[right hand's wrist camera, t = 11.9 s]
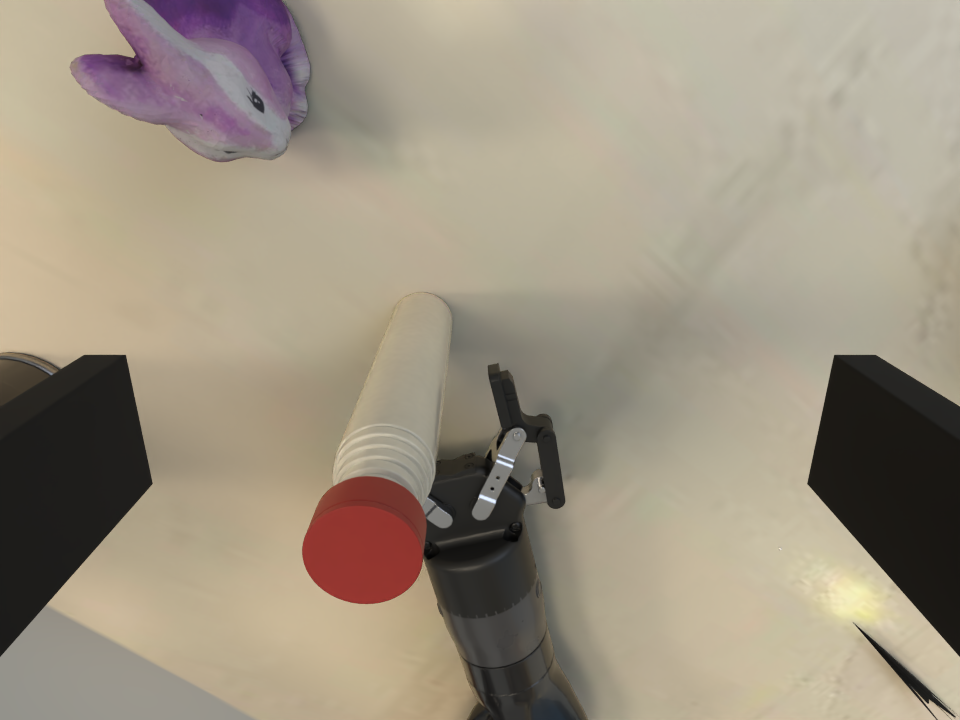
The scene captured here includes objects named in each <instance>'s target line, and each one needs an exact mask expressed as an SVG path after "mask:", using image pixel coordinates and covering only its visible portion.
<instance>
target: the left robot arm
mask: <svg viewBox="0 0 960 720" xmlns="http://www.w3.org/2000/svg"><path fill="white" fill-rule="evenodd" d="M57 371H59V370H58V369H57V368H55V367H54V366H52V365H50V364H49V363H47V362H45V361H42V360H40V359H38V358H35V357H32V356H28V355H24V354H19V353H0V406H2V405H4V404H5V403H7V402H9V401H10V400H12V399H13V398H15V397H17V396H18V395H20V394H22V393H23V392H25V391H26V390H28V389H30V388H31V387H33V386H35V385H36V384H38V383H39V382H41V381H43V380H44V379H46V378H48V377H49V376H51V375H53V374H54V373H56V372H57ZM488 375H489V380H490V384H491V388H492V392H493V396H494V400H495V404H496V408H497V412H498V416H499V420H500V423H501V428H500V430H499V432H498V434H497V436H496V437H494V439H493V440H492V442H491V444H490V446H489V448H488V450H487V452H486V454H485V456H484V457H482V456H476V455H475V453H470V454H466V455H463V456H461V457H458V458H456V459H454V460H438V461H437V464H436V472H435V478H434V481H433V484H432V488H431V491H430V493H429V495H428V497H427V499H426V501H425V503H424V505H423V506H422V508H423V511H424V513H425V517H426V523H427V528H426V538H425V546H424V554H423V558H424V561H425V564H426V567H427V570H428V573H429V576H430V579H431V582H432V585H433V588H434V591H435V594H436V597H437V605H438V609H439V612H440V614H441V615H442V617H443V619H444V622H445V624H446V627H447V629H448V631H449V633H450V635H451V637H452V639H453V641H454V643H455V645H456V647H457V650H458V653H459V656H460V659H461V662H462V665H463V668H464V671H465V674H466V677H467V680H468V682H469V685H470V687H471V689H472V691H473V693H474V695H475V696H476V698H477V700H478V702H477V703H476V705H475V706H474V708H473V710H472V712H471V713H470V715H469V717H468V719H467V720H588V718H587V716H586V714H585V712H584V710H583V708H582V706H581V704H580V702H579V700H578V698H577V696H576V694H575V692H574V690H573V688H572V686H571V685H570V683H569V681H568V679H567V678H566V676H565V674H564V673H563V671H562V670H561V668H560V666H559V664H558V662H557V660H556V658H555V653H554V649H553V645H552V641H551V637H550V633H549V630H548V626H547V622H546V617H545V606H544V598H543V593H542V587H541V582H540V580H539V576H538V573H537V569H536V565H535V561H534V557H533V553H532V549H531V545H530V541H529V537H528V533H527V529H526V525H525V521H524V517H523V512H524V509H525V506H526V505H532V504H539V503H545V502H547V503H548V505H549V506H550V507H551V508H554V509H558V508H561V507H562V506H563V505H564V504H565V496H564V489H563V482H562V476H561V469H560V462H559V456H558V449H557V442H556V436H555V433H554V431H553V426H552V421H551V418H550V417H549V416H548V415H546V414H539V415H537V416H528V415H525V414H524V413H523V412H522V411H521V409H520V406H519V401H518V397H517V393H516V389H515V385H514V381H513V376H512V375H511V374H510V372H509V371H508V370H505V371H501V372H500V368H499V364H498V363H497V364H493V365H488ZM524 442H534V443H537V446H538V452H539V458H540V465H541V469H537V470H536V471H535V472H533V474H532V475H531V482H530V483H529V485H527V486H525V487H523V486H522V485H521V484H520V483H519V482H518V481H517V480H515V479H514V478H513V477H511V476H510V473H511V471H512V469H513V466H514V462H515V459H516V457H517V455H518V453H519V451H520V449H521V447H522V446H523V444H524Z"/></svg>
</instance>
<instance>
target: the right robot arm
mask: <svg viewBox="0 0 960 720" xmlns="http://www.w3.org/2000/svg"><path fill="white" fill-rule="evenodd" d="M152 484H153V483H152V478H151V474H150V469H149V464H148V459H147V455H146V450H145V445H144V440H143V435H142V431H141V426H140V421H139V416H138V411H137V407H136V402H135V397H134V392H133V388H132V383H131V378H130V373H129V368H128V364H127V359H126V355H84V356H82V357H80V358H79V359H77V360H75V361H74V362H72V363H70V364H69V365H67V366H66V367H64V368H62V369H61V370H59V371H57V372H56V373H54V374H53V375H51V376H49V377H48V378H46V379H44V380H43V381H41V382H39V383H38V384H36V385H35V386H33V387H31V388H30V389H28V390H26V391H25V392H23V393H22V394H20V395H18V396H17V397H15V398H13V399H12V400H10V401H9V402H7V403H5V404H4V405H2V406H0V656H1V655H2V654H3V653H4V652H5V651H6V650H7V648H8V647H9V646H10V645H11V644H12V643H13V642H14V641H15V639H16V638H17V637H18V636H19V635H20V634H21V633H22V631H23V630H24V629H25V628H26V627H27V626H28V625H29V624H30V622H31V621H32V620H33V619H34V618H35V617H36V616H37V614H38V613H39V612H40V611H41V610H42V609H43V608H44V606H45V605H46V604H47V603H48V602H49V601H50V600H51V599H52V597H53V596H54V595H55V594H56V593H57V592H58V591H59V589H60V588H61V587H62V586H63V585H64V584H65V583H66V582H67V580H68V579H69V578H70V577H71V576H72V575H73V574H74V572H75V571H76V570H77V569H78V568H79V567H80V566H81V565H82V563H83V562H84V561H85V560H86V559H87V558H88V557H89V555H90V554H91V553H92V552H93V551H94V550H95V549H96V547H97V546H98V545H99V544H100V543H101V542H102V541H103V540H104V538H105V537H106V536H107V535H108V534H109V533H110V532H111V530H112V529H113V528H114V527H115V526H116V525H117V524H118V523H119V521H120V520H121V519H122V518H123V517H124V516H125V515H126V513H127V512H128V511H129V510H130V509H131V508H132V507H133V506H134V504H135V503H136V502H137V501H138V500H139V499H140V498H141V496H142V495H143V494H144V493H145V492H146V491H147V490H148V488H149V487H150V486H151V485H152ZM807 484H808V485H809V486H810V487H811V488H812V490H813V491H814V492H815V493H816V494H817V495H818V496H819V498H820V499H821V500H822V501H823V502H824V503H825V504H826V506H827V507H828V508H829V509H830V510H831V511H832V512H833V513H834V515H835V516H836V517H837V518H838V519H839V520H840V521H841V523H842V524H843V525H844V526H845V527H846V528H847V529H848V530H849V532H850V533H851V534H852V535H853V536H854V537H855V538H856V540H857V541H858V542H859V543H860V544H861V545H862V546H863V547H864V549H865V550H866V551H867V552H868V553H869V554H870V555H871V557H872V558H873V559H874V560H875V561H876V562H877V563H878V565H879V566H880V567H881V568H882V569H883V570H884V571H885V572H886V574H887V575H888V576H889V577H890V578H891V579H892V580H893V582H894V583H895V584H896V585H897V586H898V587H899V588H900V589H901V591H902V592H903V593H904V594H905V595H906V596H907V597H908V599H909V600H910V601H911V602H912V603H913V604H914V605H915V606H916V608H917V609H918V610H919V611H920V612H921V613H922V614H923V616H924V617H925V618H926V619H927V620H928V621H929V622H930V624H931V625H932V626H933V627H934V628H935V629H936V630H937V631H938V633H939V634H940V635H941V636H942V637H943V638H944V639H945V641H946V642H947V643H948V644H949V645H950V646H951V647H952V648H953V650H954V651H955V652H956V653H957V654H958V655H959V656H960V406H958V405H956V404H955V403H953V402H951V401H950V400H948V399H947V398H945V397H943V396H942V395H940V394H938V393H937V392H935V391H934V390H932V389H930V388H929V387H927V386H925V385H924V384H922V383H921V382H919V381H917V380H916V379H914V378H912V377H911V376H909V375H907V374H906V373H904V372H903V371H901V370H899V369H898V368H896V367H894V366H893V365H891V364H890V363H888V362H886V361H885V360H883V359H881V358H880V357H878V356H876V355H834V359H833V364H832V368H831V373H830V378H829V383H828V388H827V392H826V397H825V402H824V407H823V411H822V416H821V421H820V426H819V431H818V435H817V440H816V445H815V450H814V455H813V459H812V464H811V469H810V474H809V478H808V483H807Z"/></svg>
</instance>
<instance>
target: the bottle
mask: <svg viewBox="0 0 960 720" xmlns="http://www.w3.org/2000/svg"><path fill="white" fill-rule="evenodd" d="M452 323H453V321H452V315H451V312H450V309H449V308H448V306H447V305H446V303H445V302H444V301H443V300H441V299H440V298H439V297H437V296H435V295H433V294H430V293H423V292H420V293H413V294H410V295H408V296H406V297H405V298H403V299H402V300H401V301H400V302H399V303H398V304H397V306H396V307H395V309H394V312H393V314H392V317H391V319H390V322H389V324H388V327H387V329H386V331H385V334H384V336H383V339H382V341H381V344H380V346H379V349H378V351H377V354H376V356H375V359H374V361H373V363H372V366H371V368H370V371H369V373H368V376H367V378H366V381H365V383H364V386H363V388H362V391H361V393H360V395H359V398H358V400H357V403H356V405H355V408H354V410H353V413H352V415H351V418H350V420H349V423H348V425H347V427H346V430H345V432H344V435H343V437H342V440H341V442H340V445H339V447H338V450H337V452H336V456H335V462H334V466H333V486H335V485H336V484H338V483H340V482H342V481H344V480H347V479H350V478H354V477H360V476H375V477H382V478H385V479H389V480H391V481H394V482H396V483H398V484H400V485H402V486H403V487H405V488H406V489H407V490H409V491H410V492H411V493H412V494H413V495H414V496H415V497H416V499H417V500H418V501H419V503H420V504H421V506H423V505H424V503H425V501H426V499H427V497H428V495H429V493H430V491H431V488H432V484H433V481H434V478H435V472H436V464H437V455H438V446H439V438H440V429H441V420H442V411H443V403H444V394H445V385H446V377H447V368H448V359H449V350H450V342H451V333H452Z"/></svg>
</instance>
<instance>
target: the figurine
mask: <svg viewBox="0 0 960 720" xmlns="http://www.w3.org/2000/svg"><path fill="white" fill-rule="evenodd" d="M104 2H105V6H106V9H107V10H108V12H109V14H110V16H111V18H112V19H113V21H114V22H115V24H116V25H117V27H118V28H119V30H120V32H121V33H122V34H123V36H124V37H125V38H126V40H127V41H128V43H129V44H130V45H131V47H132V48H133V50H134V52H135V53H136V56H135V57H134V58H131V57H126V56H122V55H102V54H90V55H83V56H80V57H77V58H75V59H74V60H73V61H72V62H71V65H70V69H71V73H72V75H73V76H74V77H75V79H76V81H77V82H78V83H79V84H80V85H81V87H82V88H83V89H85V91H87V93H88V94H89V95H91V96H93V97H94V98H96V99H97V100H98V101H100V102H102V103H104V104H105V105H107V106H108V107H110V108H112V109H115V110H118V111H119V112H120V113H122V114H124V115H127V116H131V117H133V118H135V119H137V120H140V121H145V122H149V123H152V124H161V125H165V126H166V127H167V128H168V129H169V131H170V132H171V133H172V134H173V135H174V136H175V137H176V138H177V139H178V140H179V141H181V142H182V143H183V144H185V145H186V146H187V147H188V148H190V149H191V150H193V151H194V152H196V153H197V154H199V155H201V156H203V157H205V158H208V159H210V160H213V161H217V162H228V161H232V160H235V159H239V158H244V157H251V158H259V159H265V160H273V159H276V158H278V157H280V156H281V155H283V154H284V153H285V151H286V150H287V146H288V143H289V140H290V137H291V130H293V128H296V127H297V126H298V125H300V123H302V122H303V121H304V118H305V117H306V116H307V111H308V104H307V98H306V94H305V86H306V85H307V83H308V81H309V78H310V64H309V60H308V57H307V53H306V51H305V47H304V44H303V42H302V40H301V37H300V34H299V31H298V28H297V27H296V25H295V22H294V20H293V17H292V15H291V14H290V12H289V10H288V8H287V7H286V5H285V4H284V3H283V2H282V1H281V0H104Z"/></svg>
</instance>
